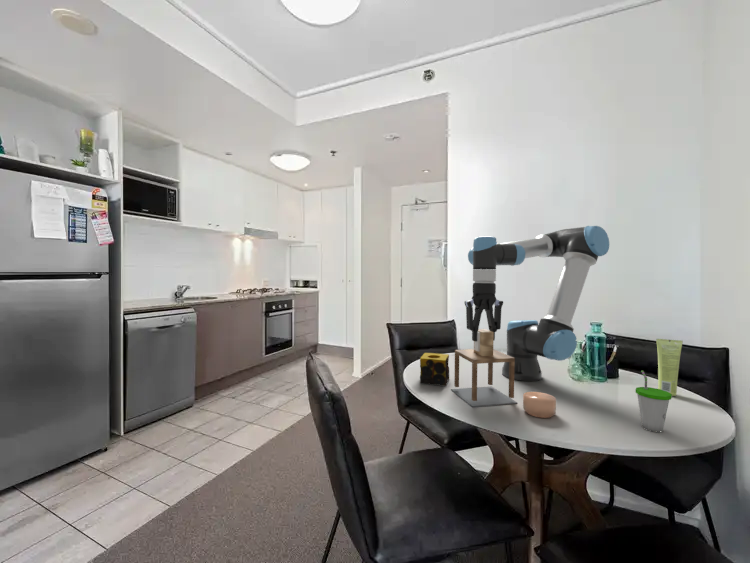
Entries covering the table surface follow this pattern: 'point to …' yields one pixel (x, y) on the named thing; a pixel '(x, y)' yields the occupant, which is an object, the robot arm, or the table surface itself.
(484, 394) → the mat
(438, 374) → the candle
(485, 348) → the wooden side table
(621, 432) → the table surface
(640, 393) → the cup
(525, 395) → the peach rounded disc
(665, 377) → the tube
